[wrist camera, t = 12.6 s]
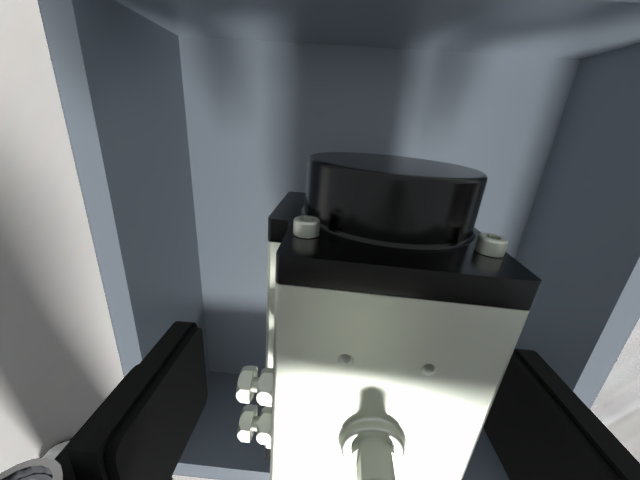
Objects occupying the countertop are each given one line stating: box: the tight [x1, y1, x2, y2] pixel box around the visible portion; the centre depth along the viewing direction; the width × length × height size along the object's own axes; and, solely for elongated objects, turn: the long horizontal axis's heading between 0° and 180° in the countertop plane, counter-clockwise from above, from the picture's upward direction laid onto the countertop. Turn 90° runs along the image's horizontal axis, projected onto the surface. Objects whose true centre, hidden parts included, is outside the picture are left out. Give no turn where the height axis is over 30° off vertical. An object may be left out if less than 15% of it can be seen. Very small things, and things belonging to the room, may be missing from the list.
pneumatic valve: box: [236, 152, 542, 480], centre depth 11 cm, size 6×12×12 cm, turn 175°
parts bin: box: [38, 0, 640, 480], centre depth 15 cm, size 22×20×7 cm
